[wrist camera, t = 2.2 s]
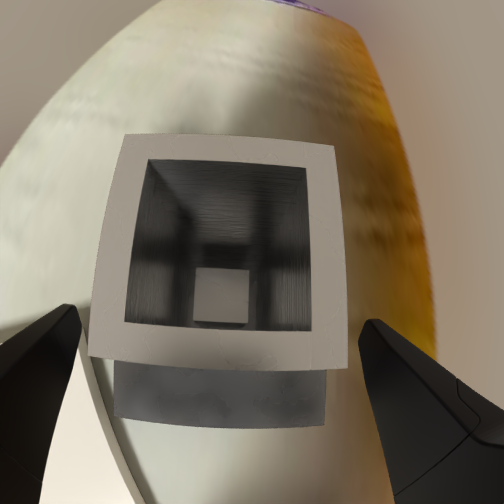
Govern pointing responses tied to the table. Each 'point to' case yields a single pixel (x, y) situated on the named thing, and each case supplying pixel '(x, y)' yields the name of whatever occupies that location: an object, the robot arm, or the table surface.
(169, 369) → the grey piece
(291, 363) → the square hollow tube
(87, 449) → the cutting board
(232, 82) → the table surface
